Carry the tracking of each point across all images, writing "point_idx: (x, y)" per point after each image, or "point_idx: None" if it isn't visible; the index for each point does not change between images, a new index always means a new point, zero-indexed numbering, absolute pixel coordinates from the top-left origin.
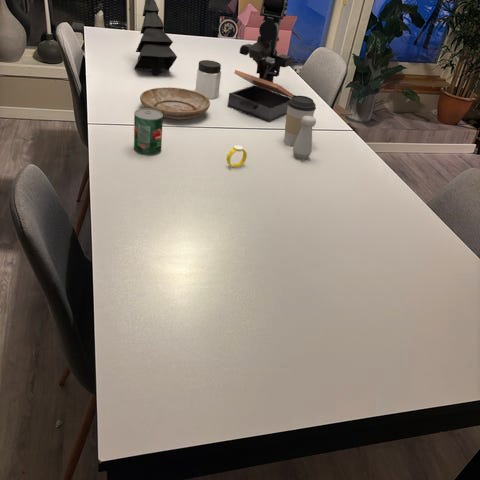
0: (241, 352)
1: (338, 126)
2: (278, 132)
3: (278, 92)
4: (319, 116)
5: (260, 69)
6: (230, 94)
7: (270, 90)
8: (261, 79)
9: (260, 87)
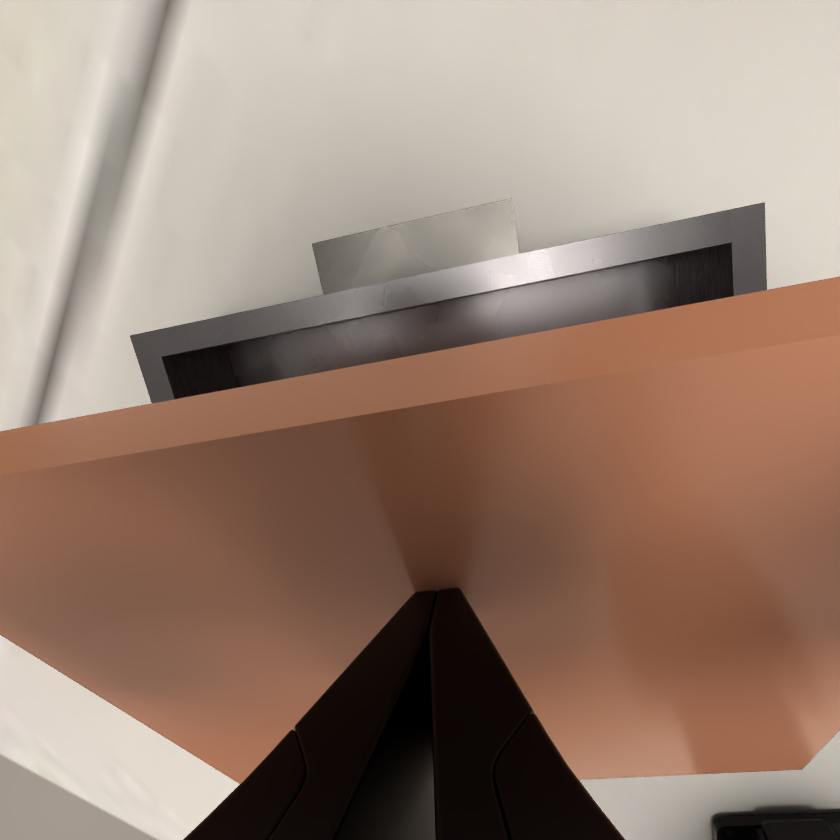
0: None
1: (11, 725)
2: (26, 241)
3: None
4: (179, 758)
5: (453, 753)
6: (732, 210)
7: None
8: (212, 430)
9: (799, 834)
